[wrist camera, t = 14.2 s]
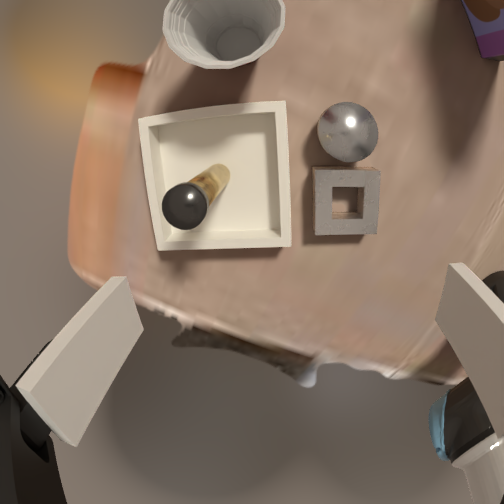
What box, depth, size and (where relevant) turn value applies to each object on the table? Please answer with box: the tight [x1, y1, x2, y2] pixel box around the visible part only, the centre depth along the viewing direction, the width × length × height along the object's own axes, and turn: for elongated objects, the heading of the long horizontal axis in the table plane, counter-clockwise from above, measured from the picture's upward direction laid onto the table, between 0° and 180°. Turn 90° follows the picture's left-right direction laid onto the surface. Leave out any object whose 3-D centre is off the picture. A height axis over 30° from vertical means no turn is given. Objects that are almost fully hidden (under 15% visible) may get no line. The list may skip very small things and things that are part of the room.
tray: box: [138, 101, 291, 251], centre depth 34 cm, size 17×17×4 cm
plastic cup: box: [163, 0, 286, 69], centre depth 23 cm, size 11×11×12 cm
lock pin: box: [162, 164, 230, 230], centre depth 28 cm, size 4×4×14 cm
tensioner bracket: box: [312, 102, 380, 235], centre depth 32 cm, size 16×8×4 cm, turn 4°
